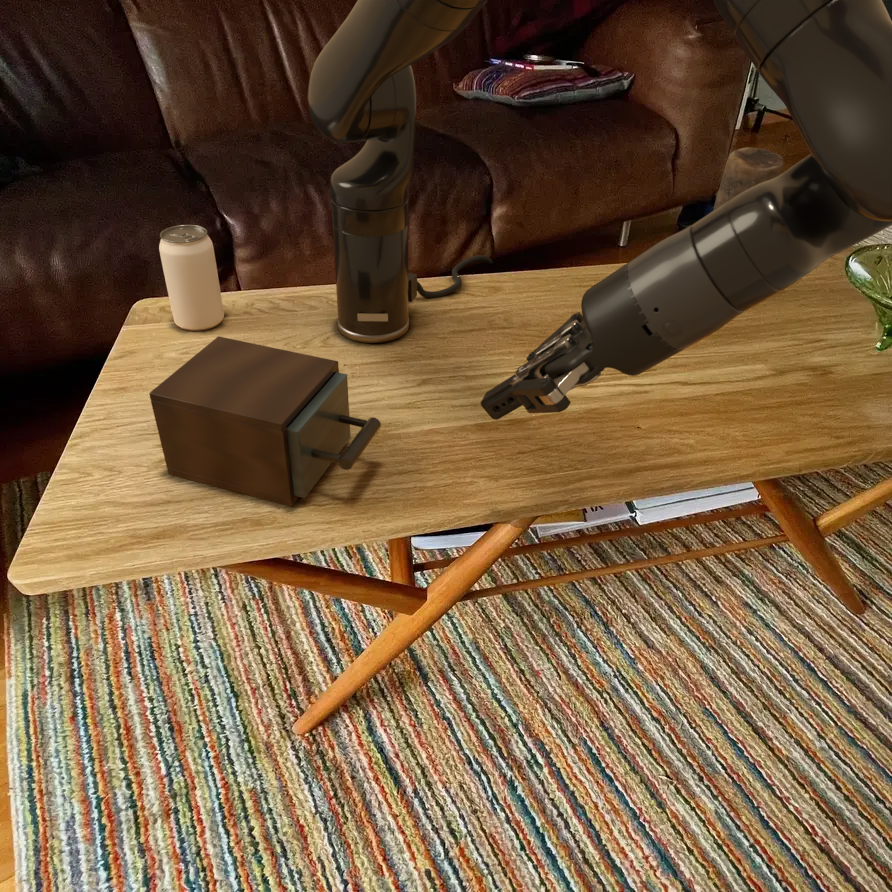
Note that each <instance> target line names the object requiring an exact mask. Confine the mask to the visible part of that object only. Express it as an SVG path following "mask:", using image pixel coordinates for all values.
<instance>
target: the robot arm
mask: <svg viewBox="0 0 892 892" xmlns="http://www.w3.org/2000/svg"><path fill="white" fill-rule="evenodd" d="M712 1H713V3H714V5H715V7H716V10H717V11H718V14H719V15H720V16H721V19H722V21H723V22H724V24H725V25H726V27H727V28H728V30H729V31H730V33H731V34H732V36H733V37H734V38H735V40H736V41H737V43H738V44H739V46H740V47H741V49H742V50H743V52H744V53H745V55H746V56H747V58H748V59H749V60H750V62H751V63H752V65H753V66H754V68H755V69H756V70H757V72H758V73H759V75H760V76H761V78H762V79H763V80H764V82H765V83H766V84H767V86H768V87H769V88H770V89H771V90H772V91H773V93H774V94H775V95H776V96H777V97H778V98H779V100H780V101H781V102H782V103H783V104H784V106H785V108H786V109H787V111H788V113H789V116H790V117H791V119H792V121H793V123H794V125H795V128H796V129H797V131H798V132H799V134H800V136H801V138H802V140H803V142H804V143H805V145H806V147H807V149H808V151H809V153H810V154H808V155H807V156H805V157H804V158H802V159H801V160H799V161H798V162H796V163H795V164H793V165H792V166H791V167H789V168H788V169H786V170H785V171H784V172H781V174H780V175H779V176H777V177H775V178H773V179H770V180H767V181H765V182H762V183H759V184H757V185H755V186H753V187H751V188H749V189H747V190H745V191H743V192H741V193H740V194H738V195H736V196H735V197H733V198H732V199H730V200H729V201H727V202H726V203H724V204H723V205H721V206H720V207H718V208H717V209H715V210H714V211H713V210H712V211H711V212H709V213H707V214H706V215H704V216H703V217H701V218H700V219H698V220H697V221H695V222H694V223H693V224H691V225H689V226H687V227H685V228H684V229H682V230H680V231H677V232H676V233H674V234H671V235H670V236H667V237H665V238H664V239H662V240H660V241H659V242H657V243H655V244H653V245H652V246H651V247H649V248H648V249H646V250H645V251H643V252H642V253H640V254H639V255H637V256H636V257H634V258H633V259H632V260H630V261H628V262H627V263H625V264H624V265H622V266H621V267H619V268H618V269H616V270H615V271H613V272H612V273H611V274H609V275H608V276H605V277H604V278H603V279H601V280H600V281H599V282H597V283H595V284H594V285H592V286H591V287H589V288H588V289H586V290H585V292H584V293H583V295H582V298H581V303H580V305H581V306H580V308H581V312H580V311H577V312H576V313H573V314H572V315H571V316H570V317H569V319H567V320H566V321H565V322H564V323H563V324H561V326H560V327H558V328H557V329H556V330H555V331H554V332H553V333H551V335H549V336H548V337H547V338H546V339H545V340H544V341H543V342H541V344H539V346H537V347H536V348H535V349H533V351H530V352H529V354H528V355H527V357H526V362H525V363H523V364H521V365H520V366H519V367H517V369H516V370H515V372H514V373H515V374H513V375H511V376H510V377H507V378H506V379H505V380H503V381H502V382H500V383H498V384H497V385H496V386H494V387H492V388H491V389H489V390H487V391H486V392H485V393H484V395H483V398H482V399H481V401H480V406H481V408H482V409H483V410H484V412H486V413H487V414H488V416H489V417H490V418H491V419H492V420H494V421H495V420H496V421H497V420H500V419H502V418H503V417H505V416H507V415H508V414H510V413H512V412H513V411H515V410H517V409H518V408H521V407H522V406H523V407H524V409H525V410H526V411H527V413H528V414H549V413H552V414H554V413H561V412H563V411H566V410H567V409H568V407H569V406H571V403H572V402H571V400H570V399H569V398H568V396H566V395H567V394H568V392H570V391H572V390H573V389H575V388H578V387H585V386H588V385H589V384H591V383H593V382H594V381H596V380H597V379H598V378H599V377H600V376H601V375H602V372H603V371H604V370H606V369H607V368H609V369H614V370H616V371H618V372H620V373H622V374H623V375H626V376H634V377H635V376H638V375H642V374H643V373H644V372H646V371H648V370H650V369H651V368H653V367H656V366H657V365H659V364H661V363H663V362H664V361H666V360H668V359H670V358H671V357H673V356H675V355H677V354H679V353H680V352H682V351H684V350H686V349H688V348H689V347H692V346H693V345H694V344H697V343H698V342H701V341H702V340H704V339H705V338H708V337H709V336H711V335H713V334H714V333H716V332H718V331H719V330H721V329H723V327H725V326H726V325H728V324H729V323H730V322H731V321H733V320H734V319H736V318H737V317H739V316H741V314H743V313H745V312H746V311H748V310H750V309H752V308H754V307H756V306H757V305H759V304H761V303H763V302H765V301H766V300H768V299H770V298H772V297H774V296H776V295H777V294H779V293H781V292H783V291H784V290H786V289H788V288H789V287H791V286H792V285H794V284H795V283H798V281H800V280H801V279H804V277H806V276H807V275H809V274H810V273H811V272H813V271H814V270H815V269H816V268H818V267H819V266H820V265H821V264H822V263H823V262H825V261H827V260H828V259H830V258H832V257H834V256H836V255H837V254H840V253H842V252H843V251H846V250H848V249H850V248H851V247H854V246H856V245H857V244H859V243H861V242H863V241H865V240H867V239H868V238H871V237H873V236H874V235H877V234H878V233H880V232H882V231H884V230H885V229H887V228H889V227H892V19H891V17H890V14H889V12H888V9H887V8H886V5H885V4H884V1H883V0H712ZM487 2H489V0H357V1H356V2H355V4H354V6H353V8H352V9H351V11H350V12H349V14H348V15H347V16H346V18H345V19H344V21H343V22H342V24H340V26H339V27H338V29H337V30H336V32H335V33H334V34H333V36H332V37H331V38H330V39H329V41H328V42H327V43H326V44H325V46H324V47H323V48H322V50H321V51H320V53H319V54H318V56H317V57H316V59H315V61H314V64H313V66H312V68H311V72H310V75H309V79H308V85H307V104H308V105H307V106H308V110H309V111H308V112H309V115H310V118H311V121H312V123H313V125H314V127H315V128H316V129H317V131H318V132H319V133H320V134H321V135H322V136H323V137H324V138H326V139H327V140H330V141H333V142H337V143H346V144H347V143H349V144H350V143H351V144H352V143H357V142H365V143H364V145H363V146H362V148H361V149H360V150H359V151H358V152H357V153H356V154H355V155H354V156H353V157H352V158H350V159H349V160H348V161H346V162H345V163H342V164H341V165H339V167H337V168H336V169H335V170H334V171H333V172H332V174H331V176H330V180H329V188H330V189H329V191H330V205H331V207H330V208H331V222H332V238H333V239H332V240H333V254H334V270H335V271H334V272H335V273H334V274H335V289H336V306H337V330H338V332H340V334H341V335H342V336H344V337H345V338H347V339H349V340H352V341H354V342H355V341H356V342H360V343H368V344H377V343H378V344H379V343H385V342H386V343H387V342H390V341H395V340H396V339H398V338H401V337H402V336H404V335H405V334H406V333H407V332H408V330H409V327H410V317H409V303H413V301H414V300H415V299H416V298H417V297H418V294H419V295H420V296H421V297H423V298H428V299H429V298H430V299H434V298H440V297H445V296H448V295H450V294H453V293H454V292H456V291H457V290H459V289H460V288H461V286H462V279H461V276H460V275H459V273H458V272H459V271H461V270H462V269H463V268H465V267H467V266H468V265H470V264H473V263H476V262H484V263H486V264H487V265H491V264H493V263H494V262H493V260H492V258H490V257H489V256H487V255H484V254H477V255H473V256H470V257H468V258H466V259H464V260H462V261H461V262H458V263H457V264H456V265H455V266H454V267H453V268H452V269H451V276H452V278H453V280H454V284H452V285H450V286H448V287H446V288H444V289H441V290H435V291H429V290H425V289H424V287H423V286H422V284H421V282H419V281H418V274H417V273H412V272H411V273H410V272H409V191H410V189H409V188H410V185H411V182H412V178H413V173H414V158H415V140H416V124H417V123H416V122H417V88H416V80H415V79H416V78H415V75H414V71H413V67H412V65H413V64H415V63H417V62H419V61H421V60H422V59H424V58H426V57H427V56H429V55H432V54H433V53H435V52H436V51H438V50H439V49H441V48H443V47H444V46H446V45H447V44H448V43H450V42H451V41H453V40H454V39H455V38H457V36H459V35H460V33H462V32H463V31H464V30H465V29H466V28H467V27H469V25H470V24H471V23H472V22H473V20H474V19H475V17H476V16H477V15H478V14H479V12H480V11H481V10H482V8H484V5H485V4H487ZM457 276H459V277H457Z"/></svg>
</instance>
